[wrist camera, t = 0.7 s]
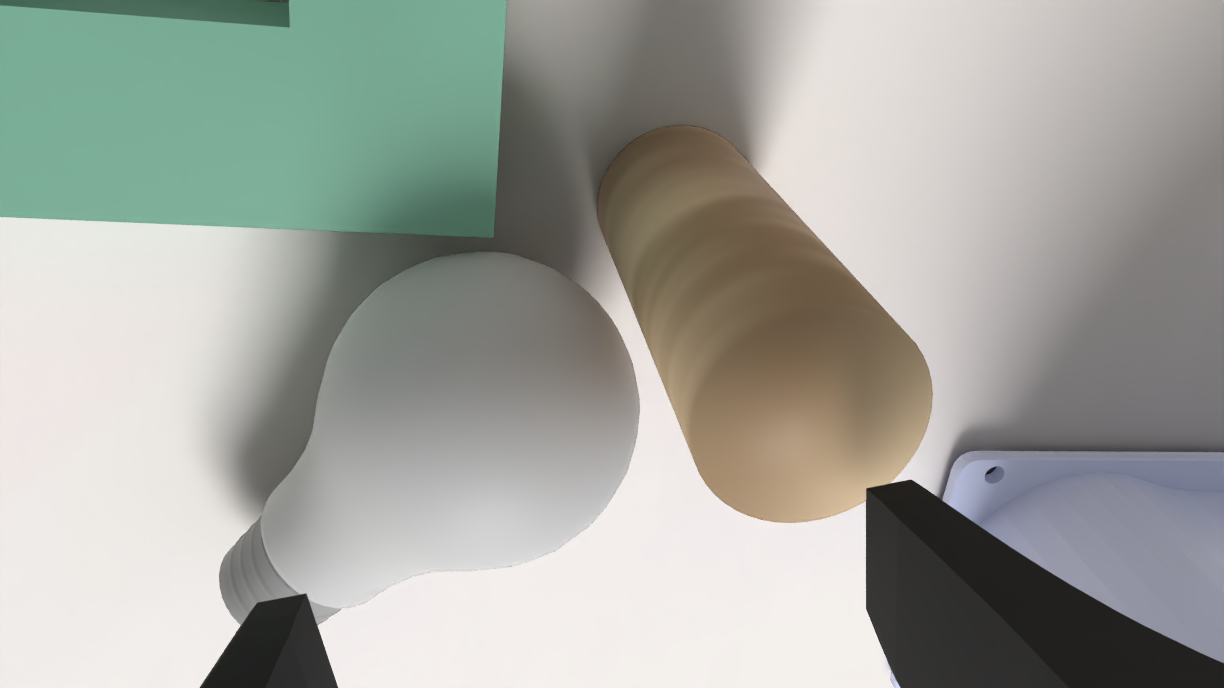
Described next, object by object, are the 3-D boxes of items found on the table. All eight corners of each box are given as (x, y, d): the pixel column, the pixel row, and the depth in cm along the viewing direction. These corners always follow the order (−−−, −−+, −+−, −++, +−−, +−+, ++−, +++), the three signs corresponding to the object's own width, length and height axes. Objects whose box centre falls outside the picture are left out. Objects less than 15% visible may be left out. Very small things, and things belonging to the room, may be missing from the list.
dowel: (765, 129, 21) (959, 310, 13) (740, 280, 23) (900, 521, 15) (605, 120, 21) (710, 302, 13) (589, 274, 22) (674, 523, 14)
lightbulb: (66, 520, 21) (402, 170, 16) (285, 469, 26) (581, 196, 22) (202, 790, 20) (607, 487, 15) (403, 678, 25) (744, 431, 21)
